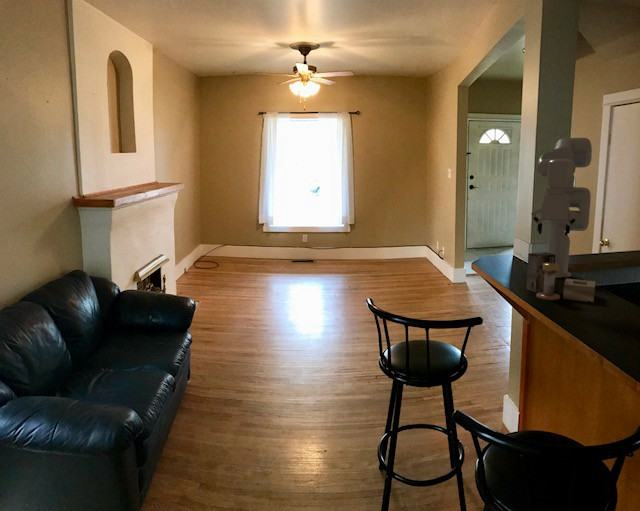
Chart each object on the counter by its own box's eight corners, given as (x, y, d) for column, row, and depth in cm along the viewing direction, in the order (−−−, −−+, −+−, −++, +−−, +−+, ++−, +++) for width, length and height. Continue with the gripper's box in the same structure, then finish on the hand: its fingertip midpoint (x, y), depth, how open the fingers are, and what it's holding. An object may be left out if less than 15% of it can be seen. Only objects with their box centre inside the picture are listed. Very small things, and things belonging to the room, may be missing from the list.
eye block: (564, 292, 217) (566, 278, 216) (594, 295, 212) (595, 281, 211) (562, 298, 208) (564, 284, 207) (593, 302, 203) (594, 287, 202)
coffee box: (543, 287, 226) (546, 251, 223) (553, 290, 220) (556, 254, 217) (525, 288, 224) (528, 253, 220) (535, 292, 218) (538, 255, 214)
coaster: (537, 293, 216) (537, 291, 216) (561, 296, 212) (561, 293, 212) (535, 298, 208) (535, 296, 208) (559, 301, 204) (559, 299, 204)
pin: (541, 292, 214) (543, 262, 212) (556, 294, 211) (559, 263, 209) (539, 295, 209) (541, 264, 206) (555, 297, 206) (558, 266, 204)
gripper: (581, 191, 201) (577, 234, 204) (534, 190, 209) (531, 231, 213) (580, 192, 195) (576, 237, 198) (531, 191, 203) (528, 234, 206)
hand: (553, 234), depth 205 cm, fingers open, 9 cm apart
